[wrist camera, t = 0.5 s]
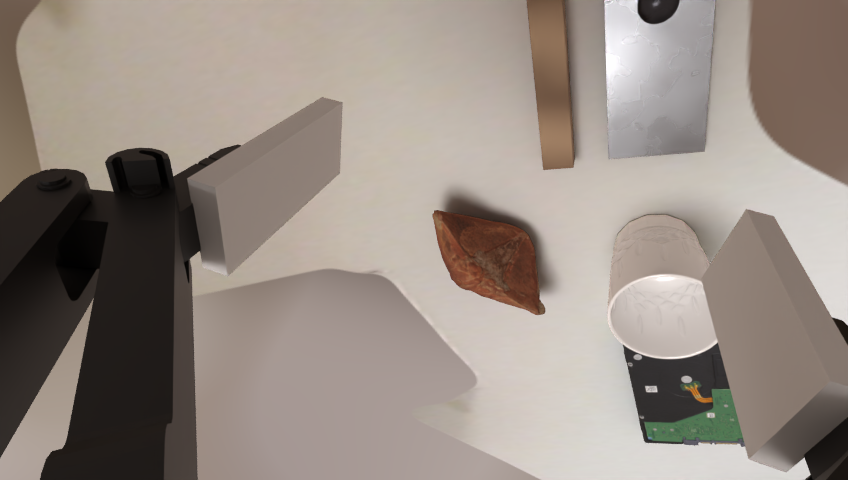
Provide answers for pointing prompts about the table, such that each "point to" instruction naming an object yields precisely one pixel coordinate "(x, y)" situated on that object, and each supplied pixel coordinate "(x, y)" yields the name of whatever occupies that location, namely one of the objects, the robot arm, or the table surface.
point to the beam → (552, 81)
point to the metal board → (657, 75)
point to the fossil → (490, 259)
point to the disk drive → (684, 399)
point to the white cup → (659, 289)
